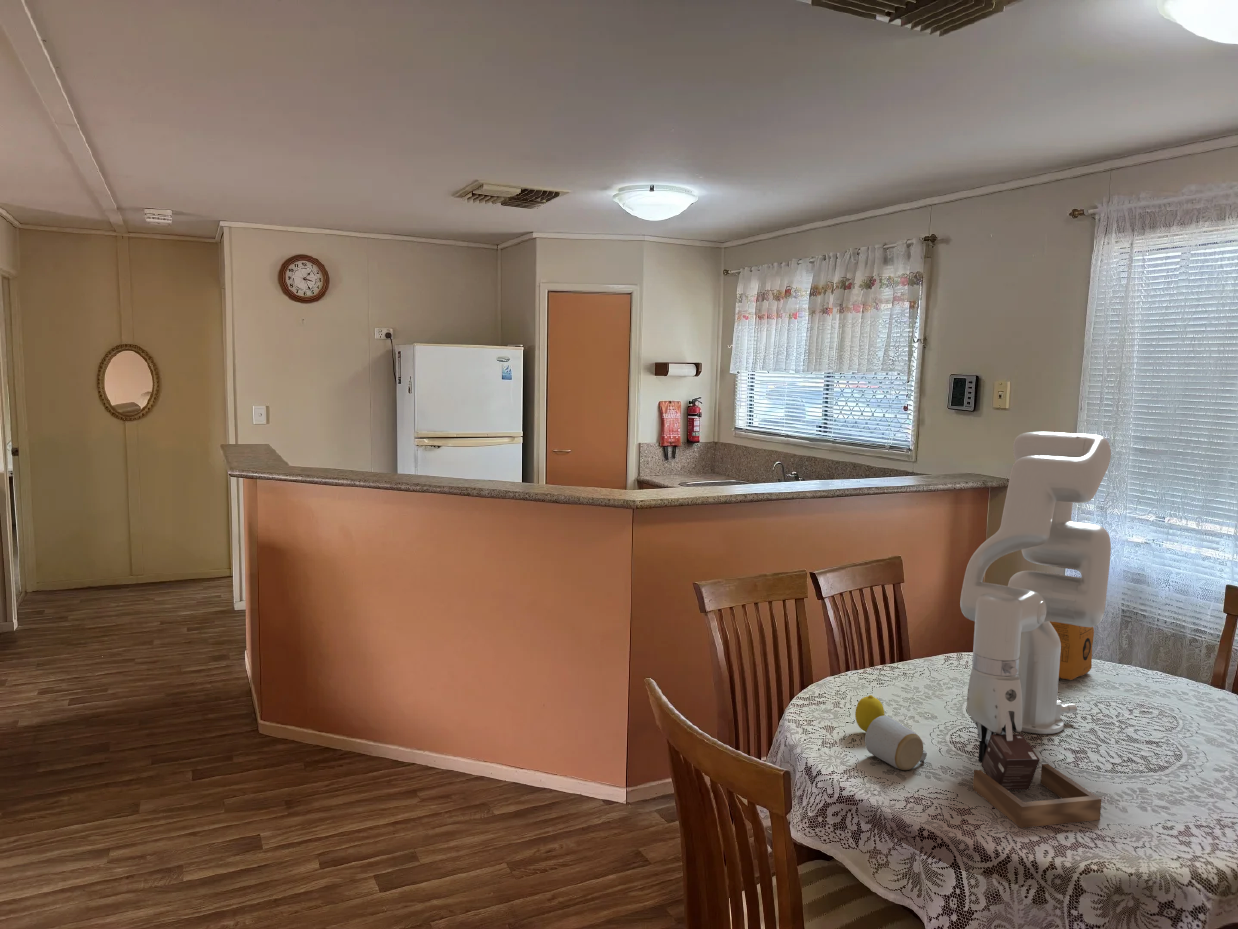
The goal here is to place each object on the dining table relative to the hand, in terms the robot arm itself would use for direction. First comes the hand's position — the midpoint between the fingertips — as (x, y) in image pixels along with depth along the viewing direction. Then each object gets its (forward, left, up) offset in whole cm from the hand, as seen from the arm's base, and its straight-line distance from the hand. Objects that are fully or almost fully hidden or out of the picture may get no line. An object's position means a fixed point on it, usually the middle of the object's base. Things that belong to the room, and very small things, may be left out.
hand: (988, 763), depth 150 cm
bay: (-1, +11, -2) cm, 12 cm away
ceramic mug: (+14, -7, -2) cm, 15 cm away
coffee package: (-51, -43, -2) cm, 66 cm away
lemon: (+13, -19, -2) cm, 23 cm away
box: (0, +4, -1) cm, 4 cm away
